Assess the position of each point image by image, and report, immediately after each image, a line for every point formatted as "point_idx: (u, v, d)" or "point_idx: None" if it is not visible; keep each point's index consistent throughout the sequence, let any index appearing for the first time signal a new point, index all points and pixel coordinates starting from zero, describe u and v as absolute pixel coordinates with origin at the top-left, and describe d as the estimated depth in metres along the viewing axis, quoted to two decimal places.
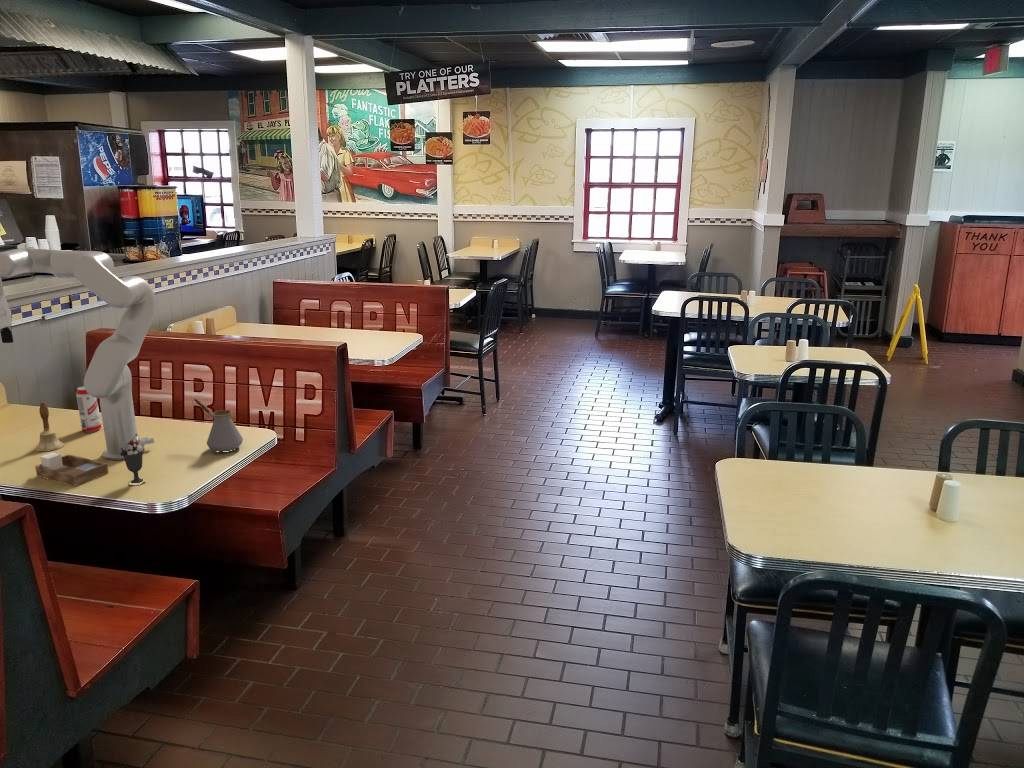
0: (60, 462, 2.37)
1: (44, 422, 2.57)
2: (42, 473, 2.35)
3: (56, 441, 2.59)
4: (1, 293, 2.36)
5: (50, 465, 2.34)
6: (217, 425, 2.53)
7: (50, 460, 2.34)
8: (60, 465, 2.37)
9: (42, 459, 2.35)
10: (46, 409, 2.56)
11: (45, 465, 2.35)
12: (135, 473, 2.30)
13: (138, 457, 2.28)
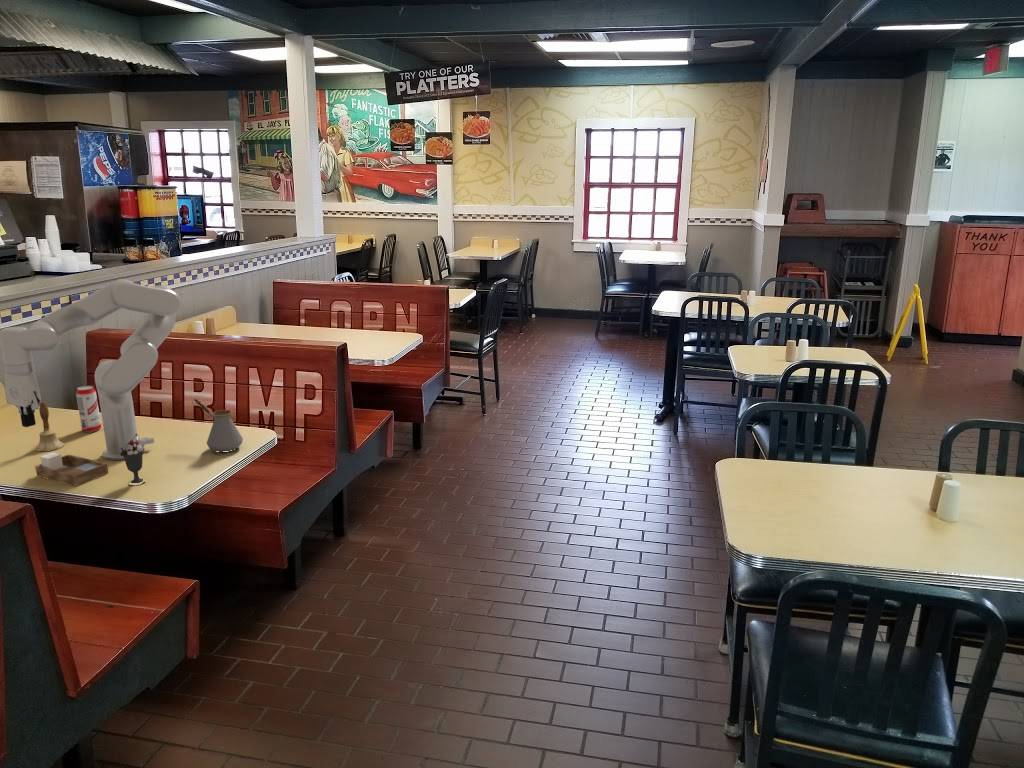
0: (60, 462, 2.37)
1: (44, 422, 2.57)
2: (42, 473, 2.35)
3: (56, 441, 2.59)
4: (6, 371, 2.28)
5: (50, 465, 2.34)
6: (217, 425, 2.53)
7: (50, 460, 2.34)
8: (60, 465, 2.37)
9: (42, 459, 2.35)
10: (46, 409, 2.56)
11: (45, 465, 2.35)
12: (135, 473, 2.30)
13: (138, 457, 2.28)
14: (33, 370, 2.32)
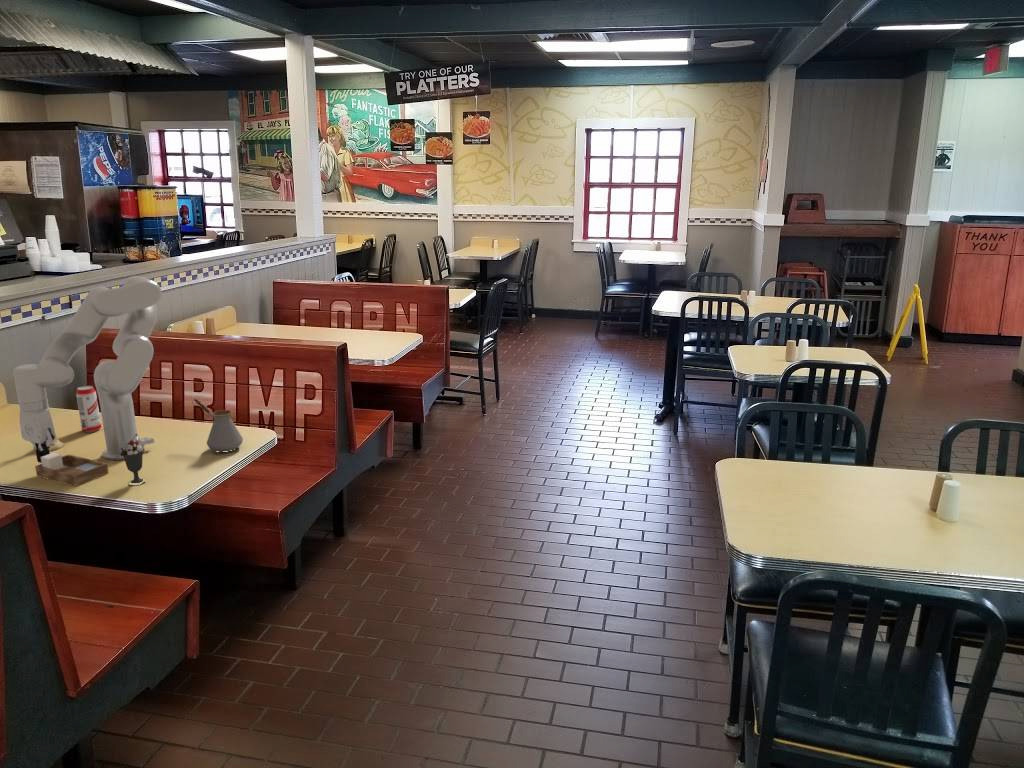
0: (60, 462, 2.37)
1: None
2: (42, 473, 2.35)
3: (56, 441, 2.59)
4: (21, 409, 2.30)
5: (50, 465, 2.34)
6: (217, 425, 2.53)
7: (50, 460, 2.34)
8: (60, 465, 2.37)
9: (42, 459, 2.35)
10: None
11: (45, 465, 2.35)
12: (135, 473, 2.30)
13: (138, 457, 2.28)
14: (47, 407, 2.34)
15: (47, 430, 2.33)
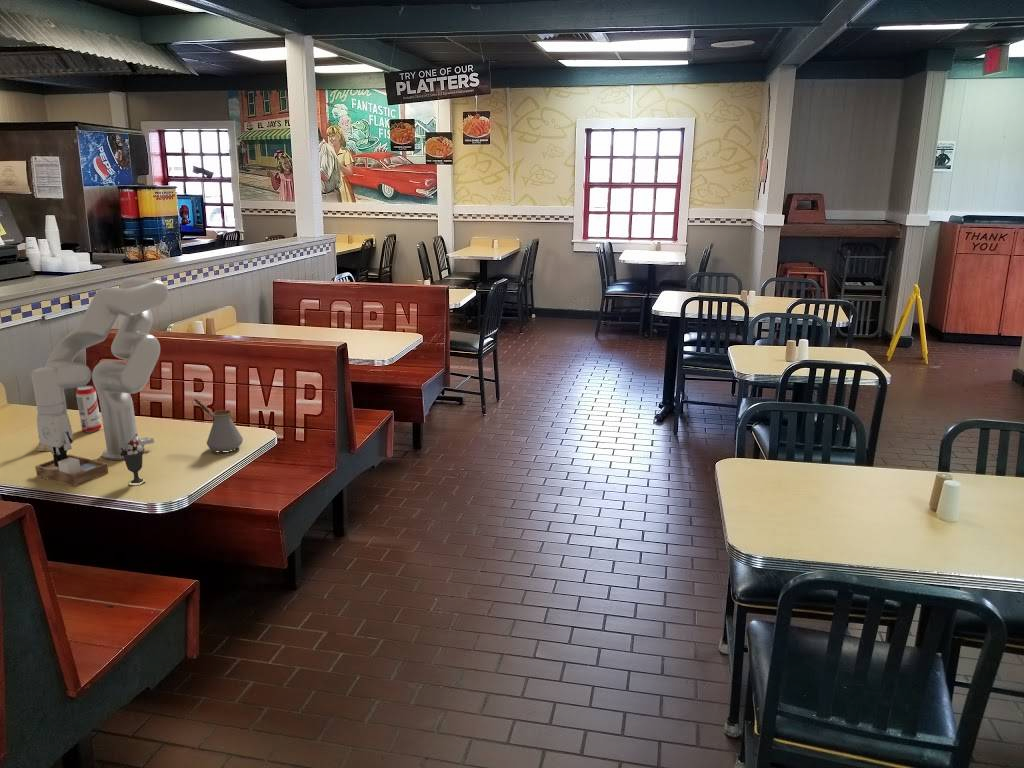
0: (78, 467, 2.33)
1: None
2: (42, 473, 2.35)
3: None
4: (39, 412, 2.26)
5: (67, 470, 2.30)
6: (217, 425, 2.53)
7: (68, 465, 2.30)
8: (78, 470, 2.33)
9: (60, 464, 2.31)
10: None
11: (63, 470, 2.31)
12: (135, 473, 2.30)
13: (138, 457, 2.28)
14: (65, 410, 2.30)
15: (65, 434, 2.29)
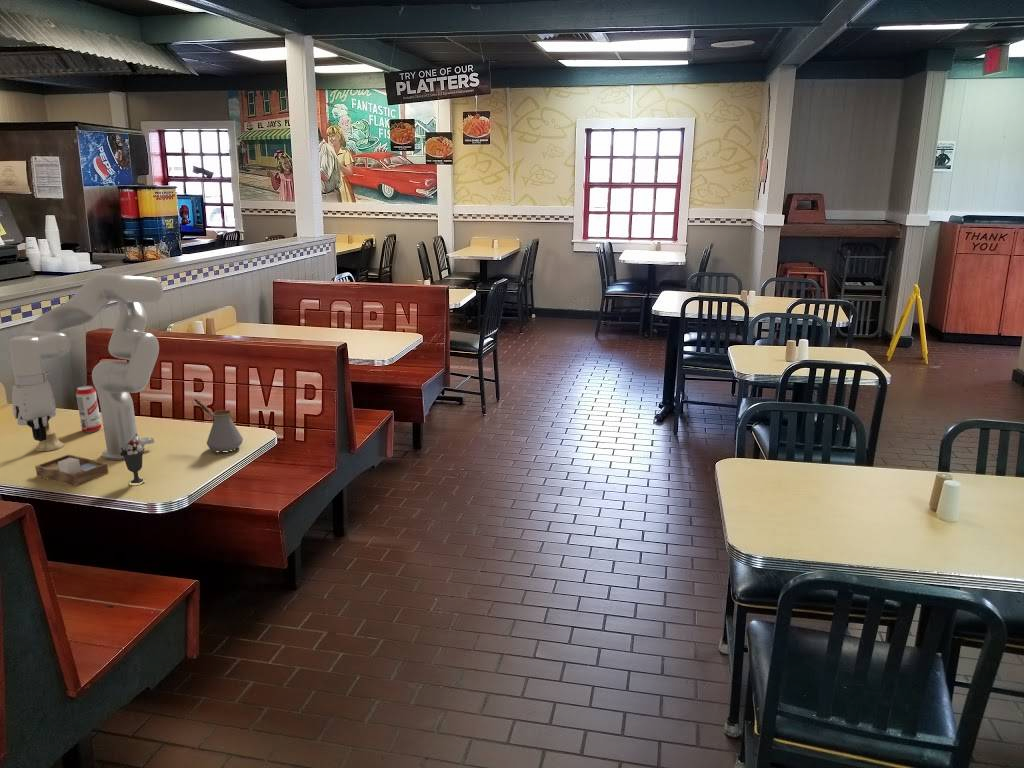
0: (78, 467, 2.33)
1: None
2: (42, 473, 2.35)
3: (56, 441, 2.59)
4: None
5: (67, 470, 2.30)
6: (217, 425, 2.53)
7: (68, 465, 2.30)
8: (78, 470, 2.33)
9: (60, 464, 2.31)
10: None
11: (63, 470, 2.31)
12: (135, 473, 2.30)
13: (138, 457, 2.28)
14: (25, 385, 2.16)
15: None
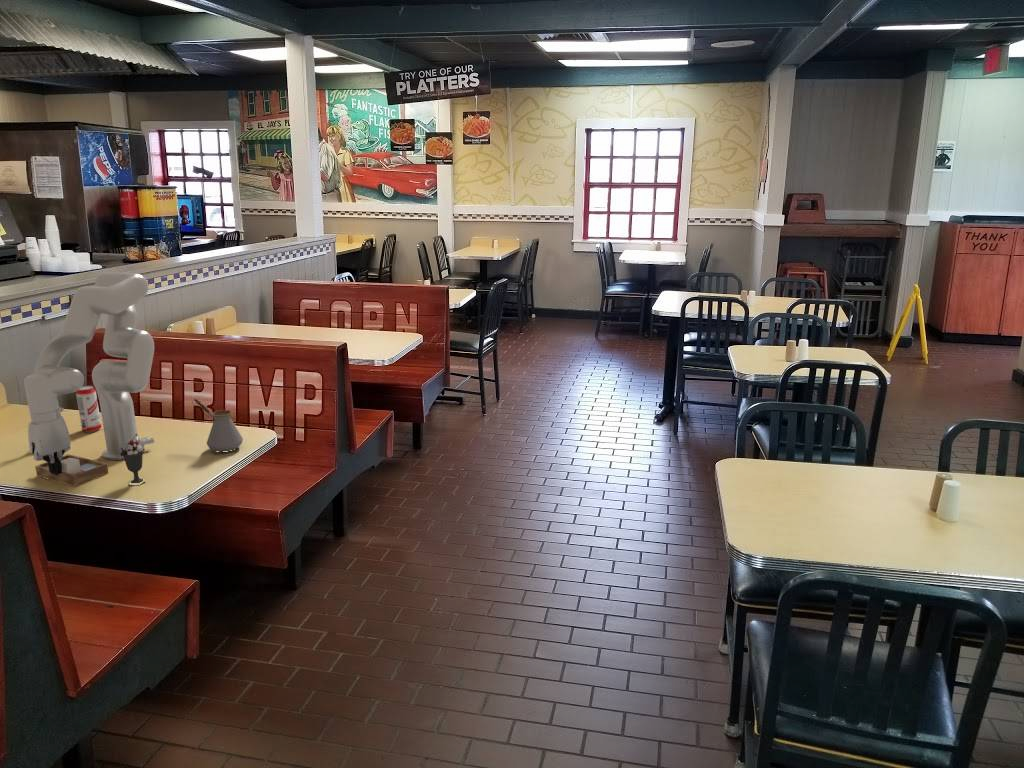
0: (78, 467, 2.33)
1: None
2: (42, 473, 2.35)
3: None
4: None
5: (67, 470, 2.30)
6: (217, 425, 2.53)
7: (68, 465, 2.30)
8: (78, 470, 2.33)
9: None
10: None
11: (63, 470, 2.31)
12: (135, 473, 2.30)
13: (138, 457, 2.28)
14: (40, 422, 2.21)
15: None
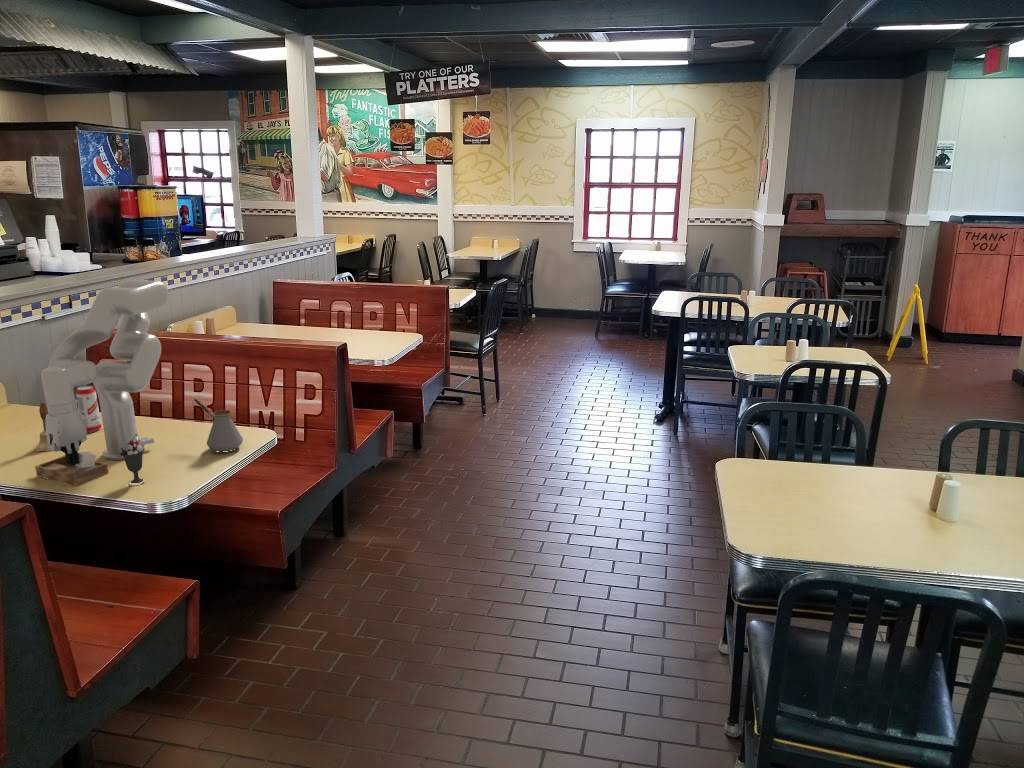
0: (93, 462, 2.37)
1: (44, 422, 2.57)
2: (42, 473, 2.35)
3: None
4: None
5: (82, 462, 2.34)
6: (217, 425, 2.53)
7: (84, 456, 2.34)
8: (92, 465, 2.37)
9: None
10: (46, 409, 2.56)
11: None
12: (135, 473, 2.30)
13: (138, 457, 2.28)
14: (57, 414, 2.25)
15: None
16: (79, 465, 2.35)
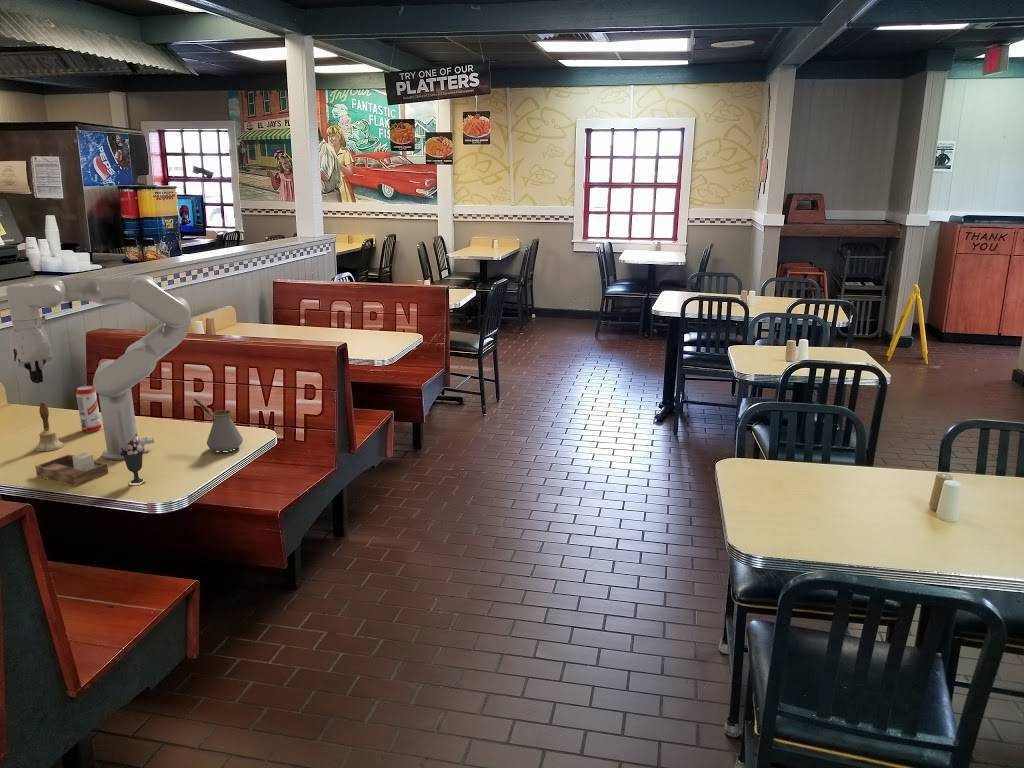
0: (92, 462, 2.37)
1: (44, 422, 2.57)
2: (42, 473, 2.35)
3: (56, 441, 2.59)
4: None
5: (81, 465, 2.34)
6: (217, 425, 2.53)
7: (81, 460, 2.34)
8: (92, 465, 2.37)
9: (74, 459, 2.35)
10: (46, 409, 2.56)
11: (77, 465, 2.35)
12: (135, 473, 2.30)
13: (138, 457, 2.28)
14: (22, 329, 2.31)
15: None
16: (79, 469, 2.35)
